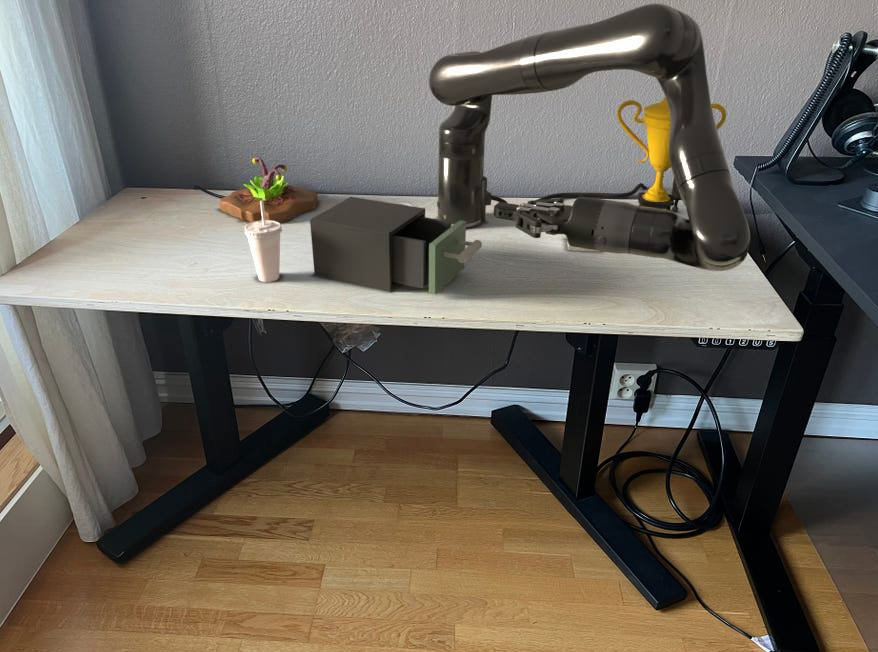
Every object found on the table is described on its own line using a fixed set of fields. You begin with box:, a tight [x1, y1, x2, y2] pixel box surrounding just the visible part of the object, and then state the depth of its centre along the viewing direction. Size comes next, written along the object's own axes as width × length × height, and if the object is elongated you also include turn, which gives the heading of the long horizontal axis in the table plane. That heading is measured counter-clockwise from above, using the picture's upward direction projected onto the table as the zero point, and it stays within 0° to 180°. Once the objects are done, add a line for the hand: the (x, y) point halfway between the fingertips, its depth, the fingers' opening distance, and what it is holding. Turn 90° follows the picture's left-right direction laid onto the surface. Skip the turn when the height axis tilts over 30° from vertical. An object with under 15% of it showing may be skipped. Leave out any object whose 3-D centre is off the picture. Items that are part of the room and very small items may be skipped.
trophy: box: [616, 97, 727, 211], centre depth 137 cm, size 19×10×30 cm, turn 74°
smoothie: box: [244, 200, 283, 283], centre depth 125 cm, size 6×6×14 cm
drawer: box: [391, 216, 483, 296], centre depth 124 cm, size 19×12×9 cm, turn 62°
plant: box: [218, 156, 319, 224], centre depth 159 cm, size 20×20×11 cm
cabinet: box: [309, 196, 426, 292], centre depth 128 cm, size 16×14×11 cm
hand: (495, 209), depth 114 cm, fingers closed
